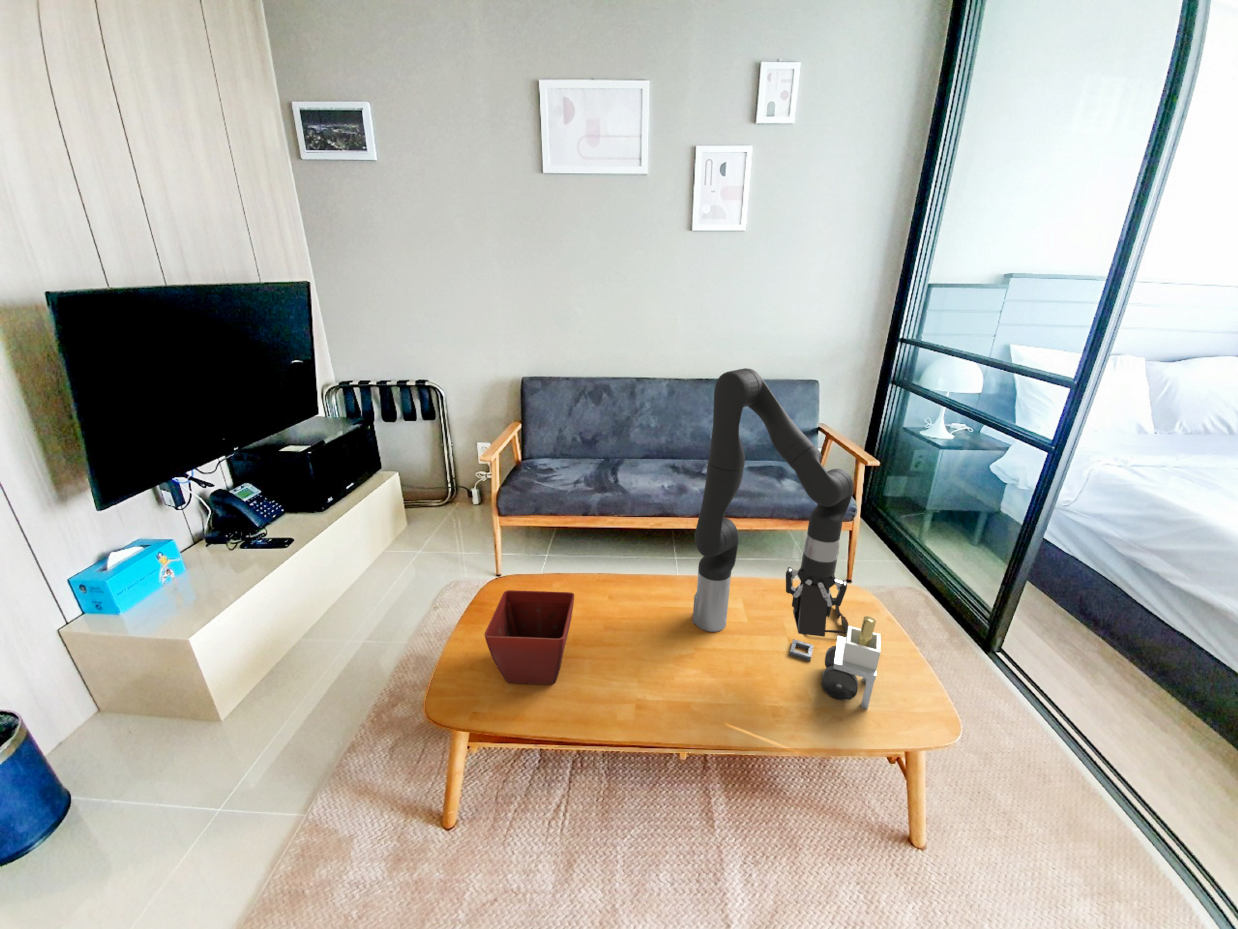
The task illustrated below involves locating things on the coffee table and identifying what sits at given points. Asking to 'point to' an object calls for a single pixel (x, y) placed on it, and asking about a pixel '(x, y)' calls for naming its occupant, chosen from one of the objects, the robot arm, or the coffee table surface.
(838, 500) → the robot arm
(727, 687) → the coffee table surface
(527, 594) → the plant pot
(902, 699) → the coffee table surface
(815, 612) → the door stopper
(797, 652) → the pin socket
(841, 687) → the trolley
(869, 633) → the pin
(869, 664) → the tray
